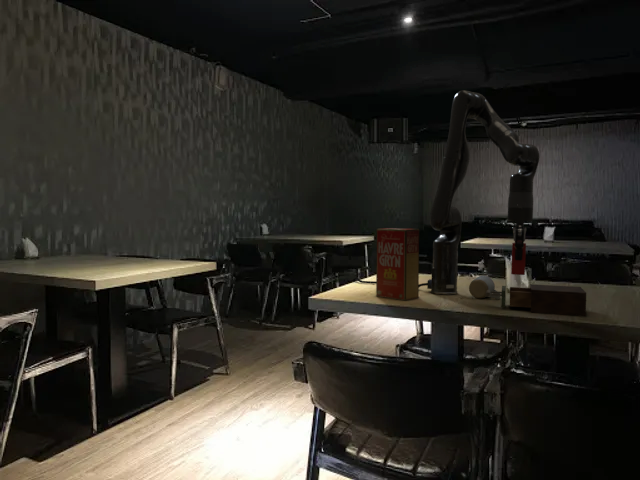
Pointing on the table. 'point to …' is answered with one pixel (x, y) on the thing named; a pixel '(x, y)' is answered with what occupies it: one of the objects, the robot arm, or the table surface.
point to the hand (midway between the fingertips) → (518, 259)
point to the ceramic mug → (482, 287)
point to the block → (518, 262)
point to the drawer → (514, 296)
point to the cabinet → (558, 300)
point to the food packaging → (397, 263)
